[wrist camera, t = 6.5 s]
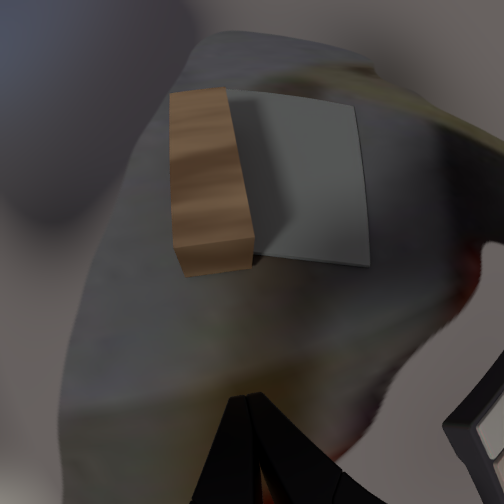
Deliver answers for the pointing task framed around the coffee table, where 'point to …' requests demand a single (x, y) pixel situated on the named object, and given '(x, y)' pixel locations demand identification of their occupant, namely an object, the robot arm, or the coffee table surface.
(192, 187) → the block
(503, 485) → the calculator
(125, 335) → the coffee table surface
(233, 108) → the mat
